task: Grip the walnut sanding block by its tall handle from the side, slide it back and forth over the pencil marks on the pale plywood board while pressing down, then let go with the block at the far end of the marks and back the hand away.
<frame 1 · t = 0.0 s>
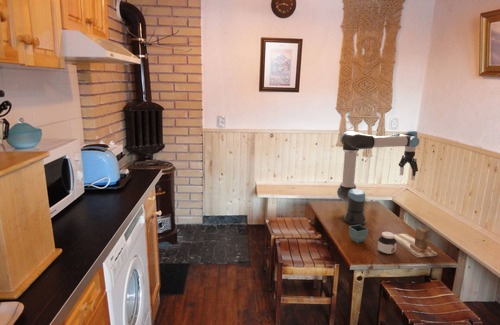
hand: (406, 177, 261), 28 cm above the table, tool pointing down, fingers open, 13 cm apart
sanding block: (420, 249, 200), point 2 cm above the table, touching plywood board
flower pot: (357, 241, 213), on the table
plywood board: (411, 245, 208), on the table
spread jar: (385, 250, 201), on the table
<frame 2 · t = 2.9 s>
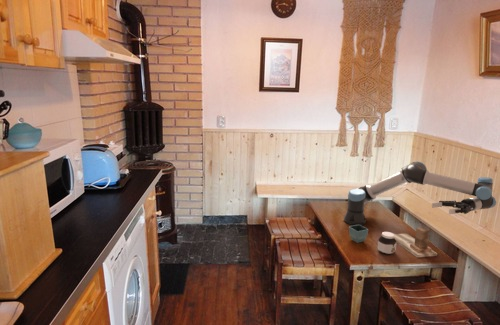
hand: (440, 208, 200), 25 cm above the table, tool horizontal, fingers open, 13 cm apart
nothing on the table moved.
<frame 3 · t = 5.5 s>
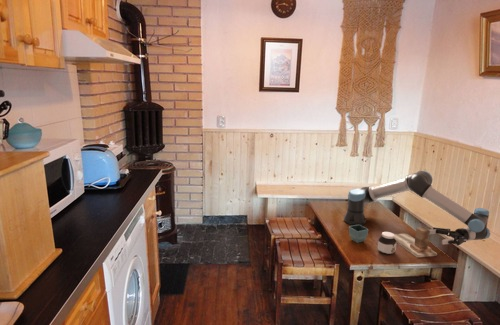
hand: (434, 237, 199), 9 cm above the table, tool horizontal, fingers open, 13 cm apart
nothing on the table moved.
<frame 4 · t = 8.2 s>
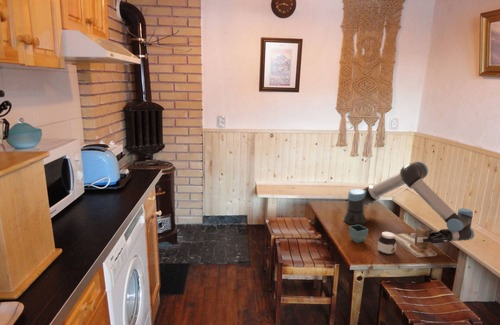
hand: (414, 238, 197), 9 cm above the table, tool horizontal, fingers closed on sanding block, 5 cm apart
sanding block: (420, 249, 200), point 2 cm above the table, touching gripper, plywood board
everything else where it was.
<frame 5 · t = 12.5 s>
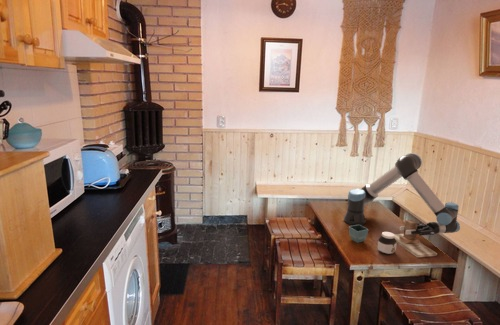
hand: (403, 230, 208), 9 cm above the table, tool horizontal, fingers closed on sanding block, 5 cm apart
sanding block: (409, 240, 210), point 2 cm above the table, touching gripper
everything else where it was.
when the fingers open (9 cm above the table, at t = 17.0 s): sanding block stays where it is, resting on plywood board.
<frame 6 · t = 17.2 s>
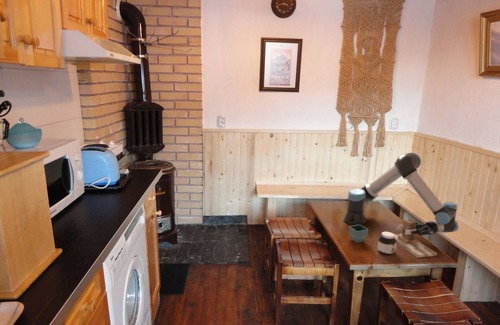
hand: (401, 229, 208), 9 cm above the table, tool horizontal, fingers open, 7 cm apart
sanding block: (407, 240, 211), point 2 cm above the table, touching plywood board
everything else where it was.
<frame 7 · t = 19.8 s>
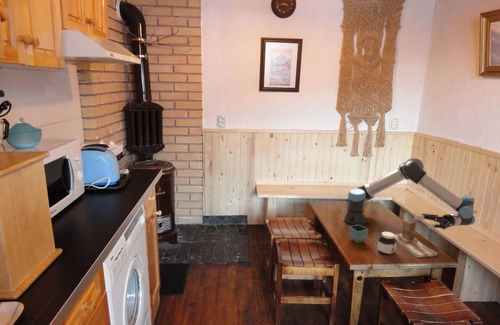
hand: (421, 221, 213), 13 cm above the table, tool horizontal, fingers open, 13 cm apart
nothing on the table moved.
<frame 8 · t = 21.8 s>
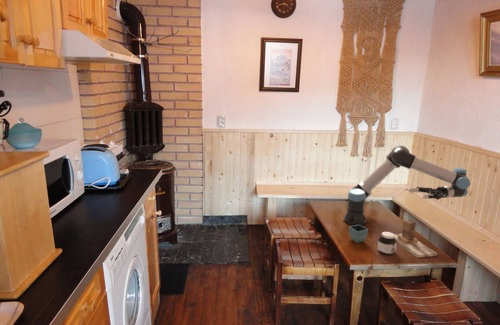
hand: (416, 193, 220), 28 cm above the table, tool horizontal, fingers open, 13 cm apart
nothing on the table moved.
at the end: sanding block inside the target area (0.8 cm from its centre), point 1.5 cm above the table; sanding block tilted 0°; the gripper is holding nothing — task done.
